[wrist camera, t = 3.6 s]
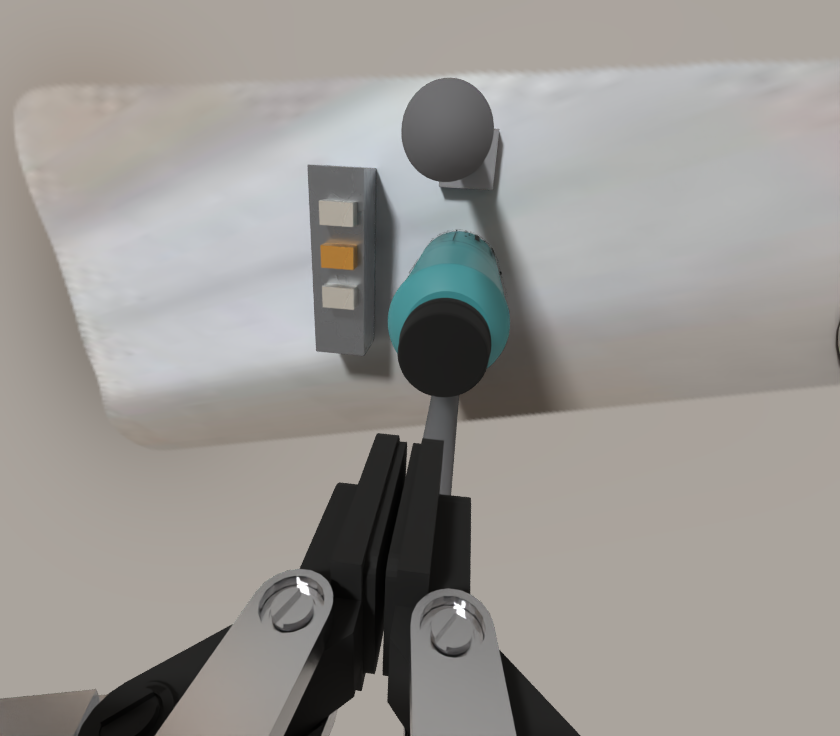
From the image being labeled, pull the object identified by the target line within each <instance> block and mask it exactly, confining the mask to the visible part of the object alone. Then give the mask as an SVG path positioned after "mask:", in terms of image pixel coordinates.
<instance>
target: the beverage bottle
mask: <svg viewBox="0 0 840 736" xmlns="http://www.w3.org/2000/svg"><path fill="white" fill-rule="evenodd" d="M449 231H450V230H449ZM449 231H448V232H449ZM466 231H467V230H466ZM470 232H471V231H470ZM438 235H440V234H438ZM477 235H478V234H477ZM477 235H475V234H474V235H473V234H471V233H469V232H468V231H467V232H461V231H457V230H456V232H452V231H451V232H449V233H446V234H444V233H443V234H442V235H441V236H439V237H437V238H436V239H434V238H433V239H434V240H431V243H429V245H428V246H427V247H426V249H425V250H424V252H423V253H422V255H421V257H420V258H419V260H418V259H417V260H418V262H417V263H416V265H415V264H414V265H415V266H414V269H413V270H412V269H411V270H412V272H411V273H410V272H409V273H410V275H409V276H408V278H407V279H406V280H405V281H404V282H403V283H402V285H401V286H400V287H399V289H398V290H397V292H396V293H395V295H394V297H393V299H392V302H391V304H390V308H389V313H388V331H389V335H390V339H391V342H392V344H393V347H394V348H395V350H396V352H397V354H398V361H399V365H400V368H401V370H402V373H403V374H404V376H405V378H406V379H407V380H408V381H409V383H410V384H411V385H413V386H414V387H415V388H416V389H418V390H419V391H421V392H423V393H425V394H428V395H431V396H435V397H453V396H457V395H460V394H463V393H465V392H467V391H469V390H470V389H472V388H473V387H474V386H475V385H476V384H477V383H478V382H479V381H480V380H481V378H482V377H483V375H484V373H485V372H486V369H487V368H488V367H489V366H491V365H492V364H493V363H494V362H495V361H496V359H497V358H498V357H499V356H500V354H501V352H502V351H503V349H504V347H505V345H506V343H507V339H508V336H509V331H510V315H509V309H508V305H507V302H506V300H505V298H506V296H505V297H504V292H503V288H502V284H501V279H500V275H499V270H498V267H497V265H498V264H497V263H496V262H497V261H496V260H498V259H495V254H494V253H495V252H494V251H493V249H492V248H491V249H490V247H489V246H490V245H489V246H488V245H487V244H489V243H487V242H486V241H483V240H482V239H481V238H482V237H481V238H479V236H477ZM485 242H486V243H487V244H486V243H485ZM412 268H413V267H412ZM500 273H501V272H500ZM501 275H502V274H501ZM505 291H506V290H505Z"/></svg>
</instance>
